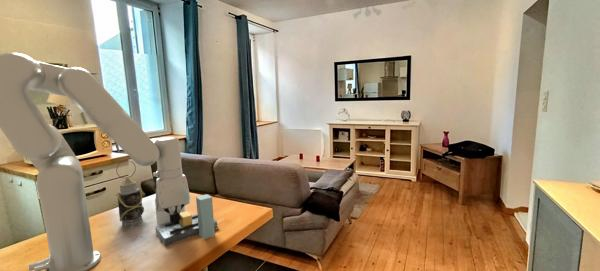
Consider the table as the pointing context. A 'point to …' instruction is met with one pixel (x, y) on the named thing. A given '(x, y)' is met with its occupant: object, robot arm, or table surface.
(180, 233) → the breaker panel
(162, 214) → the photo printer
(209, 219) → the post
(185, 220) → the block
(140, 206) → the lantern
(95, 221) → the table surface
